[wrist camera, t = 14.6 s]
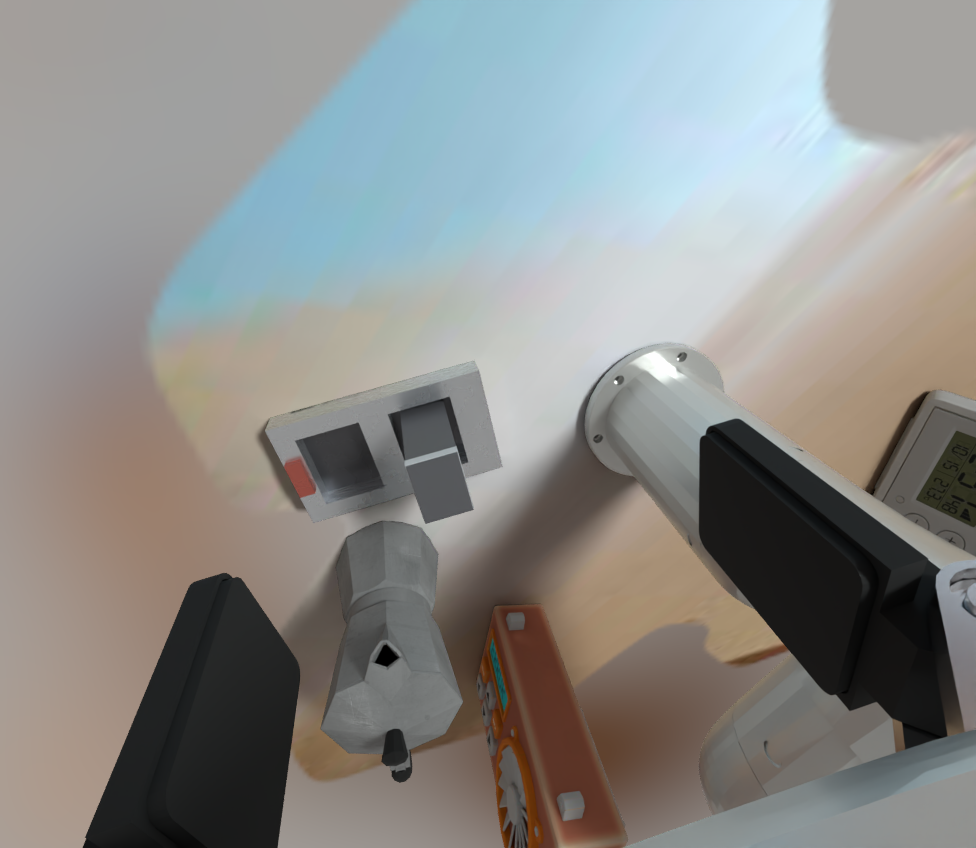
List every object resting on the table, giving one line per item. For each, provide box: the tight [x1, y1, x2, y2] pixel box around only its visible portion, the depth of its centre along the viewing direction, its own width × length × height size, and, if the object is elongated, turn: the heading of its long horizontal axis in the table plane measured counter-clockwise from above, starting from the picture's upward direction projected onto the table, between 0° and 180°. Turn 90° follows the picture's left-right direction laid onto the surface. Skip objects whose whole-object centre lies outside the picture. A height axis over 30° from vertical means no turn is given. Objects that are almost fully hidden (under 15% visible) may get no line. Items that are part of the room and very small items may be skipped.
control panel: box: [476, 604, 628, 848], centre depth 47 cm, size 21×7×15 cm
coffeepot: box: [321, 521, 463, 782], centre depth 39 cm, size 15×9×18 cm, turn 0°
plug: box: [400, 399, 474, 524], centre depth 37 cm, size 4×5×8 cm
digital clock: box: [873, 390, 976, 557], centre depth 50 cm, size 16×9×11 cm, turn 164°
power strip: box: [265, 361, 502, 523], centre depth 39 cm, size 16×9×2 cm, turn 102°
